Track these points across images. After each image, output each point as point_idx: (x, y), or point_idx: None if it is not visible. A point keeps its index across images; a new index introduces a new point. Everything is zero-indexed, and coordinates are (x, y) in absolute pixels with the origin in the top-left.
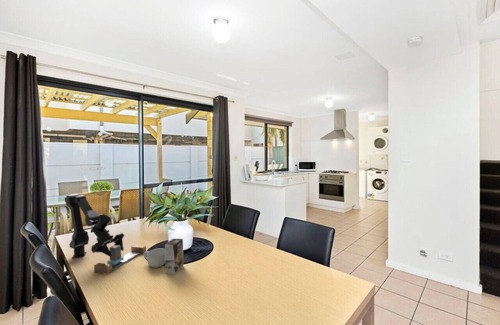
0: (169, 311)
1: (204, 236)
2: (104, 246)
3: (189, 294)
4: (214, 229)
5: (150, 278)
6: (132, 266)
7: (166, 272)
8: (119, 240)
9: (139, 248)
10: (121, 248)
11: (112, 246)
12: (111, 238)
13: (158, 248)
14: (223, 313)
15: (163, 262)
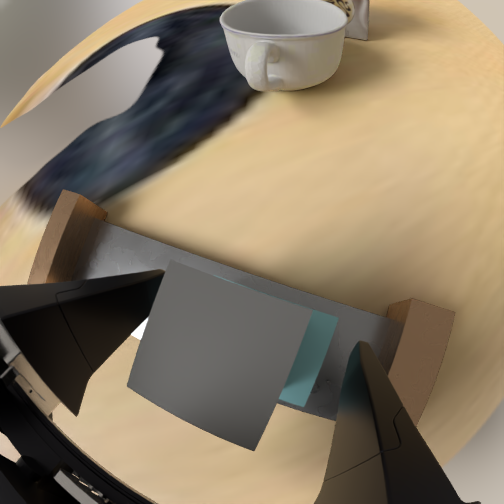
0: (499, 50)
1: (59, 79)
2: (447, 489)
3: (442, 18)
4: (32, 89)
5: (418, 73)
6: (304, 186)
7: (367, 35)
8: (38, 324)
9: (72, 225)
10: (148, 295)
11: (208, 411)
12: (33, 479)
13: (222, 19)
14: (458, 6)
15: (309, 33)
